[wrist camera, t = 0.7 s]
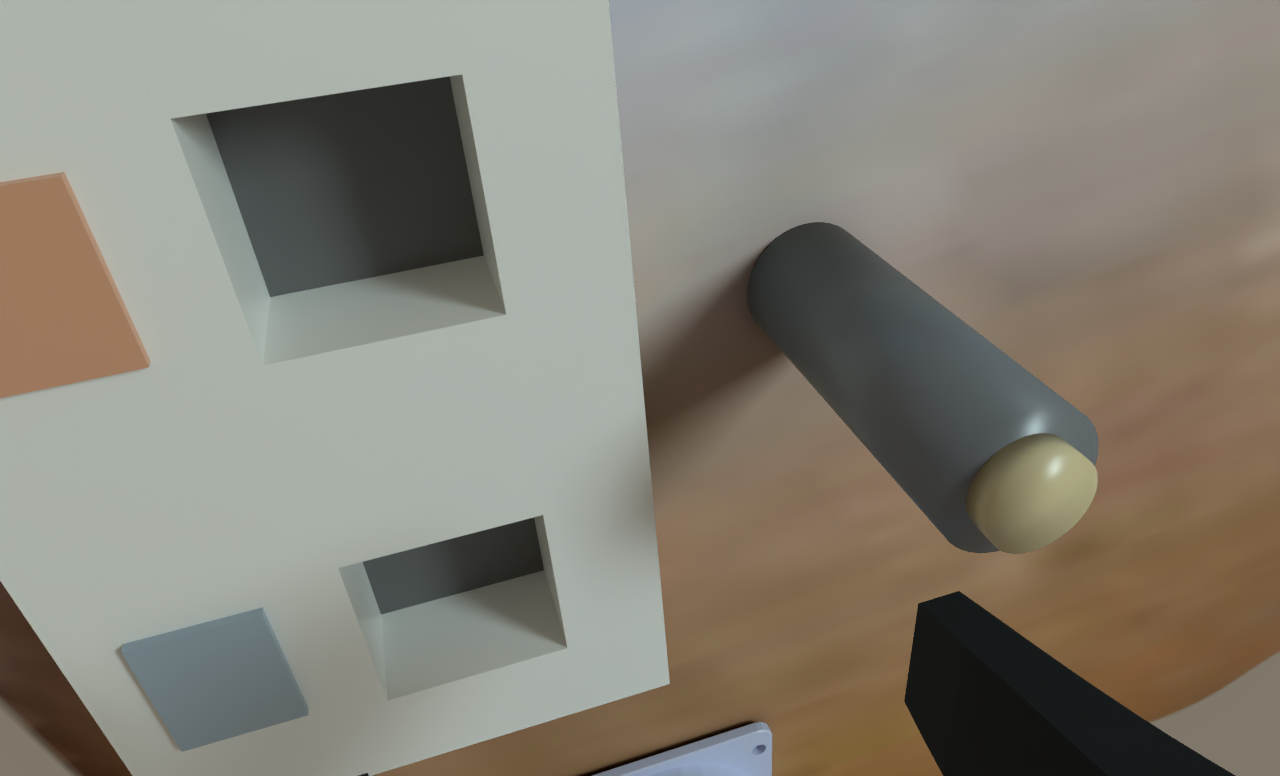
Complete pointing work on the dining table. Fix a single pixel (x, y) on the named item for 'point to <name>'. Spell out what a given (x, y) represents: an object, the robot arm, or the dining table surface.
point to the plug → (927, 393)
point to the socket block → (321, 375)
